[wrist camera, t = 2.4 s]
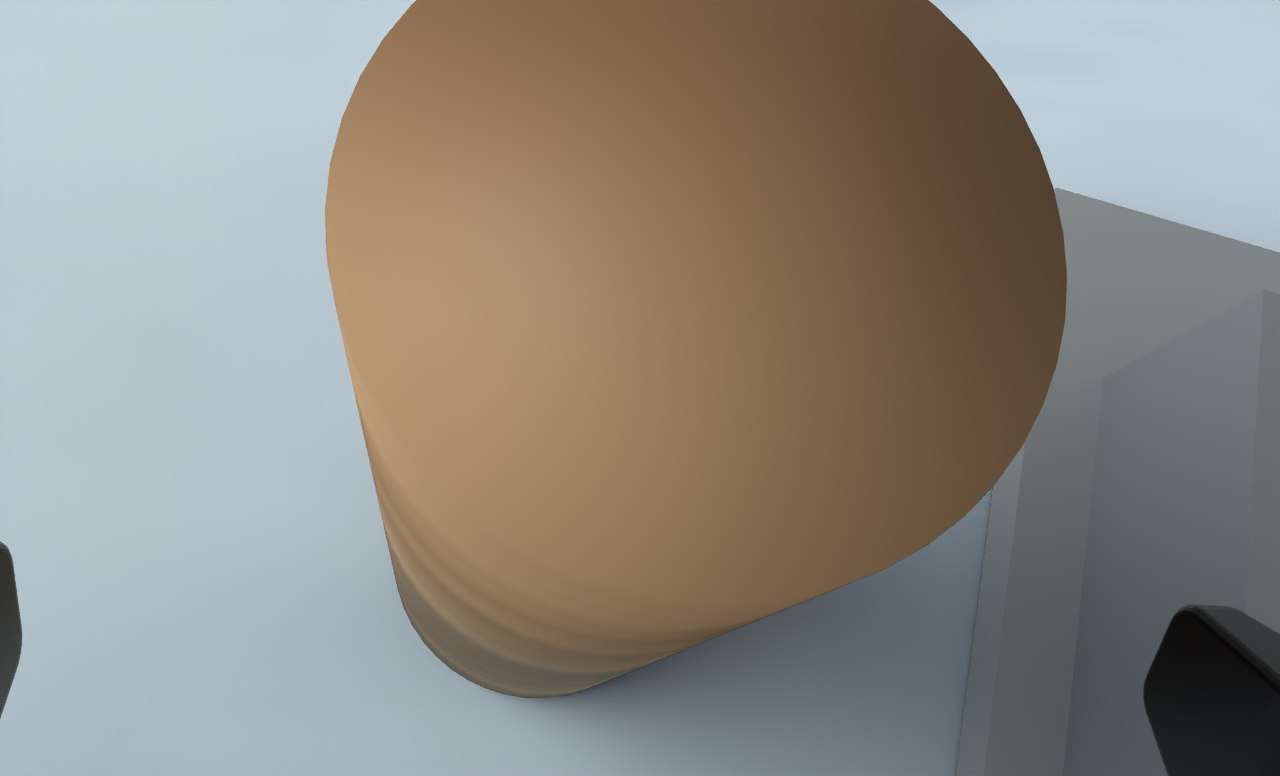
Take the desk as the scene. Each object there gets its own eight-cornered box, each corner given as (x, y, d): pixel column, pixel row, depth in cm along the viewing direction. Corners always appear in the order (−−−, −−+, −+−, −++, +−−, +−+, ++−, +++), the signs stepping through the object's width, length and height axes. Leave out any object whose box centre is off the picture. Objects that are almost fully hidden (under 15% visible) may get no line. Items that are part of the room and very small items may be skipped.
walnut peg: (648, 728, 18) (1022, 689, 6) (356, 658, 17) (213, 486, 6) (706, 450, 19) (1101, 17, 8) (438, 379, 19) (444, -184, 7)
